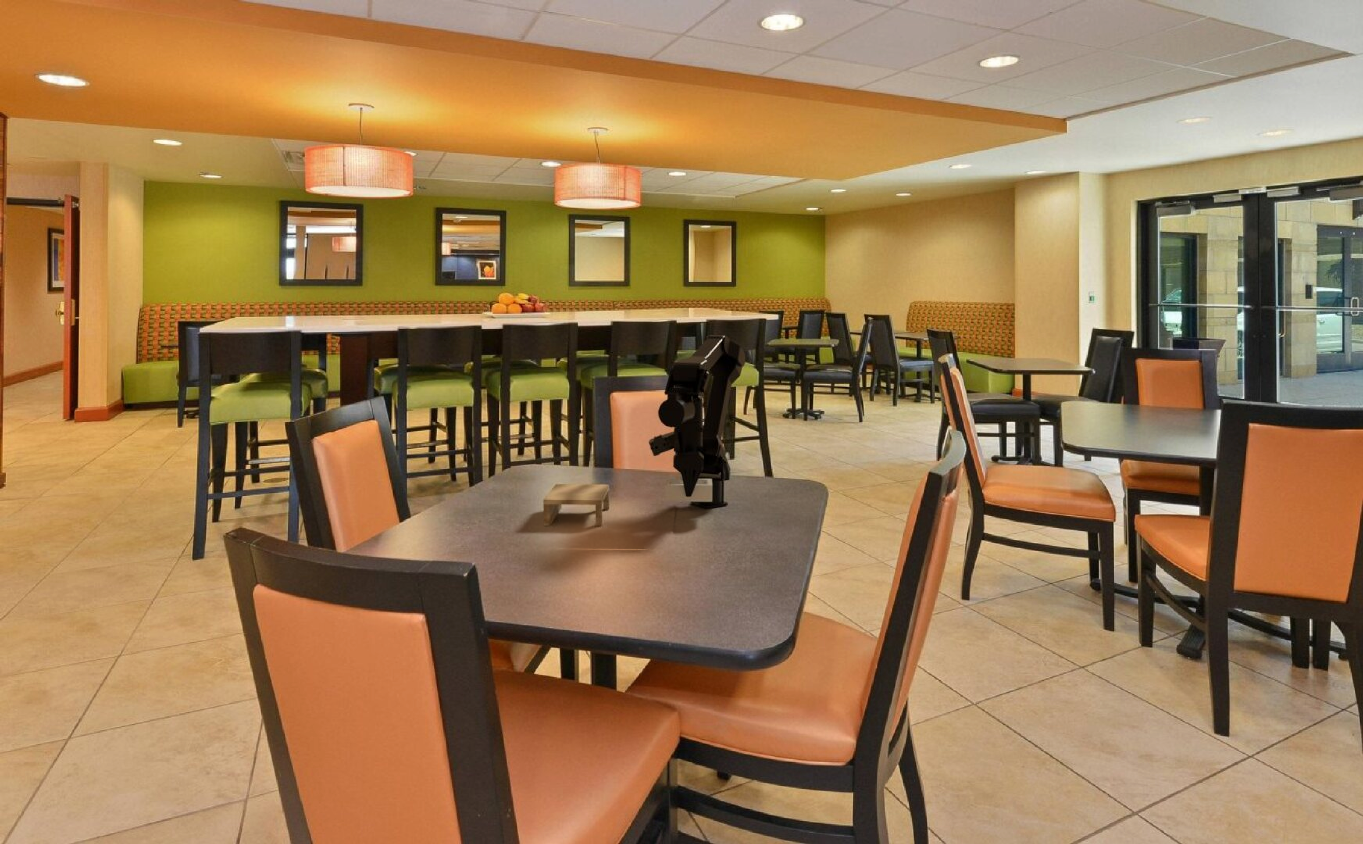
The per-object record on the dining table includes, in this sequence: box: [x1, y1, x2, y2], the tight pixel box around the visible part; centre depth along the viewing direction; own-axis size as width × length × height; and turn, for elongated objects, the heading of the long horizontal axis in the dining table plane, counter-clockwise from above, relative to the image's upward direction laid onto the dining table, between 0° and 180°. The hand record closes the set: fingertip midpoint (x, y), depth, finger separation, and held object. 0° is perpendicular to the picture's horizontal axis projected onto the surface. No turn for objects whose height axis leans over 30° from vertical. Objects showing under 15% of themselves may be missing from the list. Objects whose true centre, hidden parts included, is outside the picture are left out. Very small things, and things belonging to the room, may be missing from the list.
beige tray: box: [664, 477, 712, 502], centre depth 166 cm, size 10×6×4 cm, turn 89°
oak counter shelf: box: [542, 483, 610, 527], centre depth 167 cm, size 12×14×6 cm
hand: (688, 492), depth 166 cm, fingers closed on beige tray, 6 cm apart
